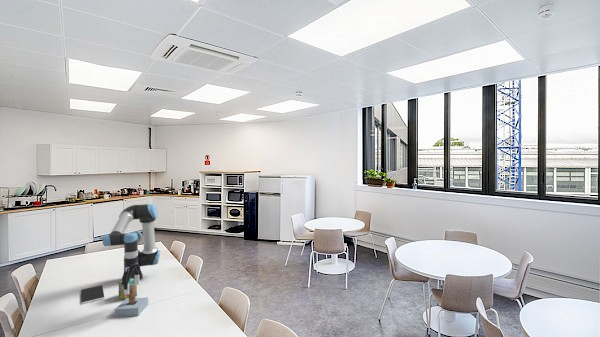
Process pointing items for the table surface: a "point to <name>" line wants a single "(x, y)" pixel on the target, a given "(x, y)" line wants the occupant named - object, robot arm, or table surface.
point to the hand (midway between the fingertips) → (132, 289)
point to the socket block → (131, 307)
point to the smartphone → (92, 294)
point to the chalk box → (121, 289)
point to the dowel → (132, 295)
